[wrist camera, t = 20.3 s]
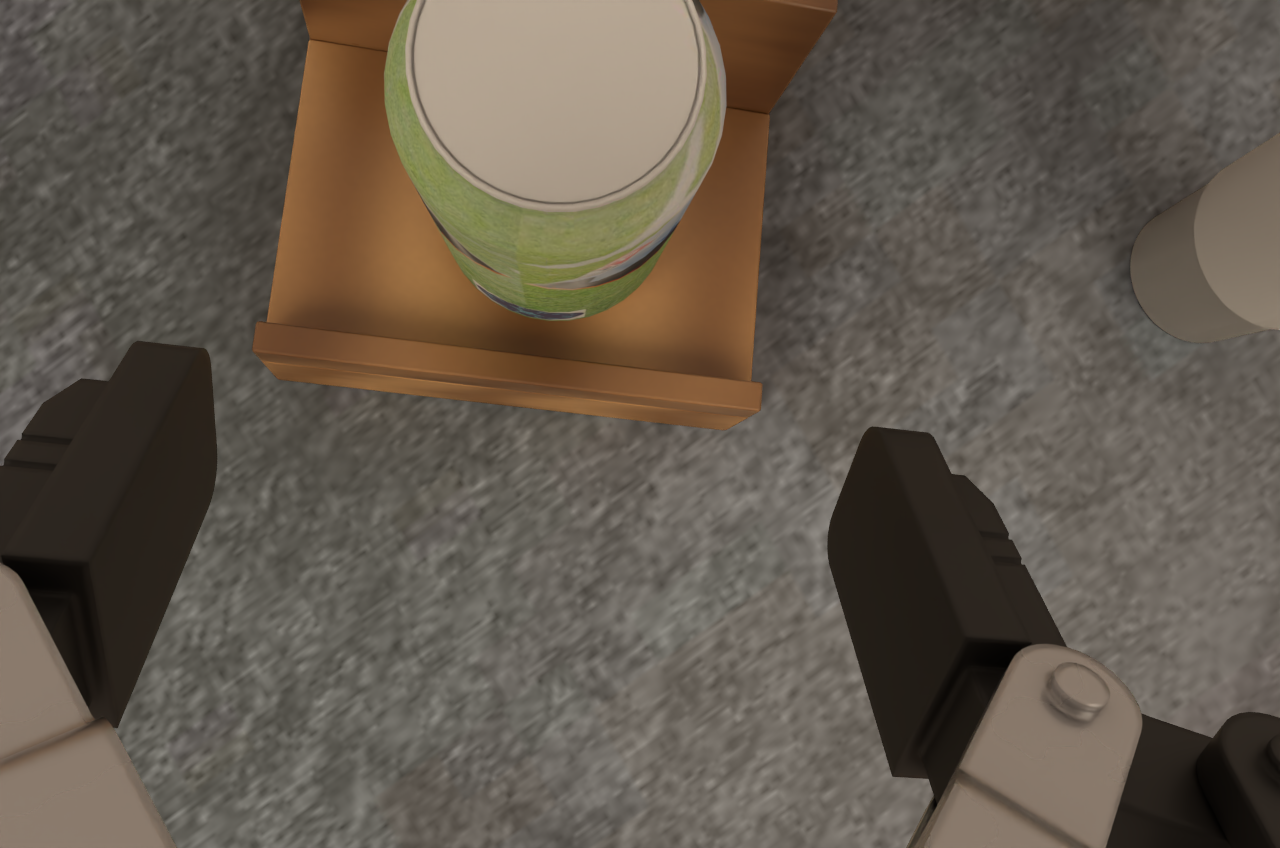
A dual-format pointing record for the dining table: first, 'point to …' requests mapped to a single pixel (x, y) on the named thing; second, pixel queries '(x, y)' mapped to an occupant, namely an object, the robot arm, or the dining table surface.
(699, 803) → the dining table surface
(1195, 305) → the cup
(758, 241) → the wooden step stand
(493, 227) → the beverage can
